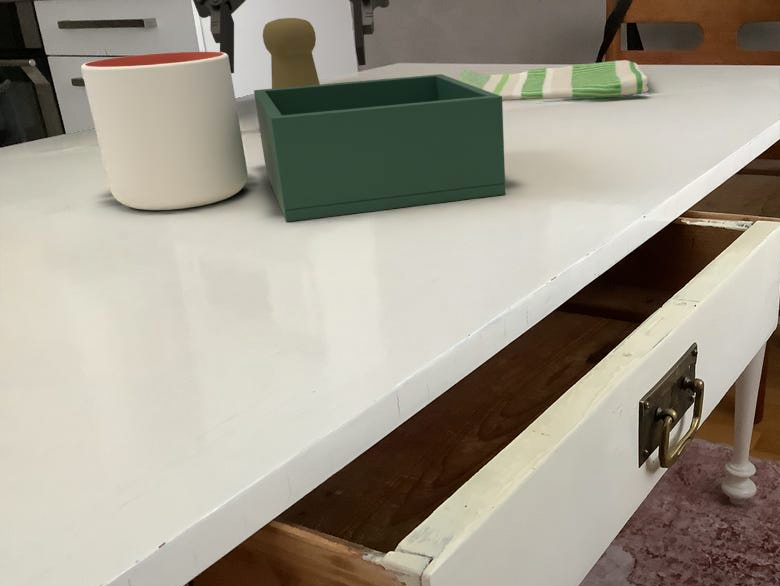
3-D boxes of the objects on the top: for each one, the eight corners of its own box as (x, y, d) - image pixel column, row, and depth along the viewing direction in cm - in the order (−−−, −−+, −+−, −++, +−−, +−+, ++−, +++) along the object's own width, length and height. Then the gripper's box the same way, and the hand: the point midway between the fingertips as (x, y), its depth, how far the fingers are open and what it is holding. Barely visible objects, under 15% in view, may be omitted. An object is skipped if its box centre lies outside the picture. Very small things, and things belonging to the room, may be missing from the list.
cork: (266, 130, 90) (249, 19, 86) (320, 123, 93) (307, 15, 88) (281, 138, 85) (264, 21, 81) (338, 131, 88) (325, 17, 83)
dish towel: (463, 86, 115) (461, 65, 114) (636, 80, 113) (637, 58, 112) (448, 107, 99) (446, 82, 98) (650, 100, 97) (651, 75, 96)
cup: (276, 191, 65) (255, 53, 60) (156, 222, 58) (123, 70, 54) (205, 176, 71) (181, 49, 67) (89, 202, 64) (55, 64, 60)
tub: (266, 175, 70) (253, 90, 67) (447, 155, 74) (442, 73, 71) (286, 222, 57) (270, 118, 54) (505, 194, 61) (502, 96, 58)
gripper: (404, -74, 98) (417, 77, 91) (186, -63, 96) (181, 91, 89) (400, -131, 91) (413, 27, 84) (164, -120, 89) (158, 42, 82)
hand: (294, 60), depth 86 cm, fingers open, 13 cm apart
